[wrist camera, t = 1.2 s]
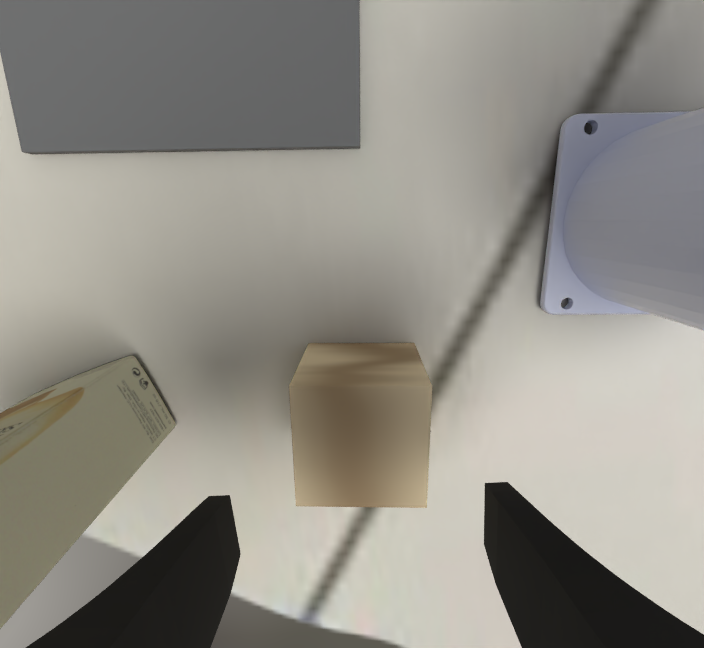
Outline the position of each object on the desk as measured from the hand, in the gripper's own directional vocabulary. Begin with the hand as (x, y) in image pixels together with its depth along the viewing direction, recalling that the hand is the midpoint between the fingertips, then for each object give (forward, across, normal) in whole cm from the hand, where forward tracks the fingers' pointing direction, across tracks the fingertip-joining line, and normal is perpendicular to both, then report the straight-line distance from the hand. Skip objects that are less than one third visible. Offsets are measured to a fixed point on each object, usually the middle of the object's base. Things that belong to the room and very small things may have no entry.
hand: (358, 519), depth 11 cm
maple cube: (+8, 0, 0) cm, 8 cm away
